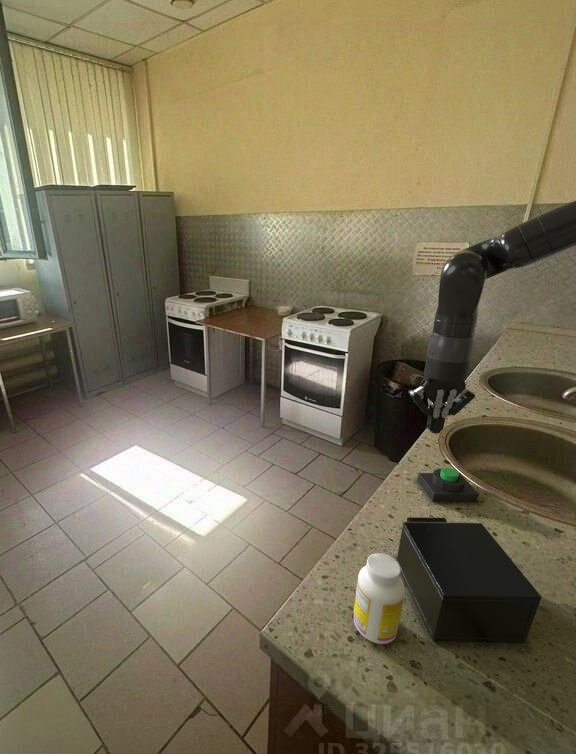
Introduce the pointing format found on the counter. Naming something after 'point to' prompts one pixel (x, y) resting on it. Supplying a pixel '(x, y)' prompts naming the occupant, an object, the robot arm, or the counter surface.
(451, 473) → the button
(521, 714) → the counter surface
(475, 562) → the black box
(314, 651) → the counter surface
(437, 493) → the control block
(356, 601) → the supplement bottle
